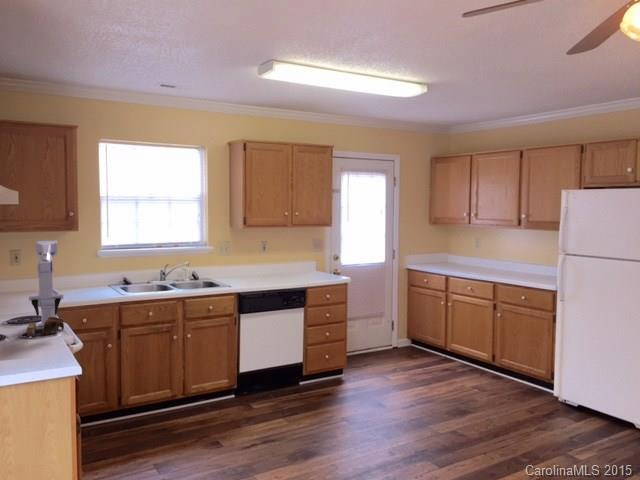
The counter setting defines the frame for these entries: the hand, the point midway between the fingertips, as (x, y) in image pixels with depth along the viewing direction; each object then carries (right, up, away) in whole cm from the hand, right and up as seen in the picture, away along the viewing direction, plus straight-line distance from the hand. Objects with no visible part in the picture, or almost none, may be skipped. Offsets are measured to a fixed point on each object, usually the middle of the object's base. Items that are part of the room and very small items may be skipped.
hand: (46, 314), depth 253 cm
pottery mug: (-1, -10, +9) cm, 13 cm away
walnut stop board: (-10, -10, +5) cm, 15 cm away
